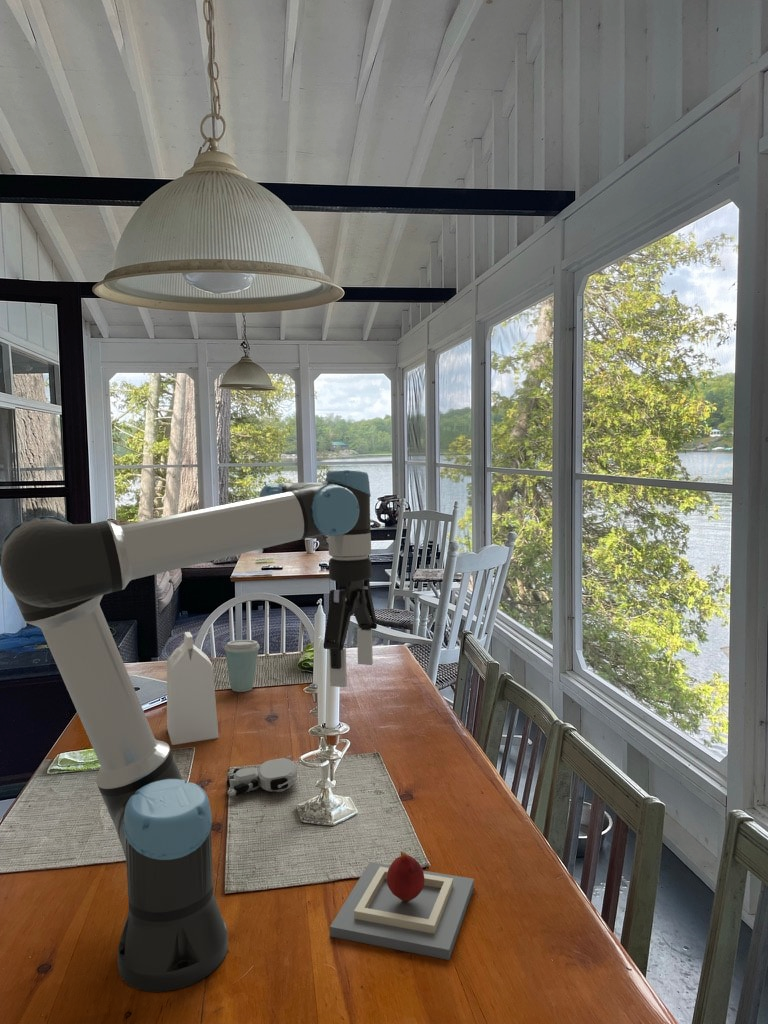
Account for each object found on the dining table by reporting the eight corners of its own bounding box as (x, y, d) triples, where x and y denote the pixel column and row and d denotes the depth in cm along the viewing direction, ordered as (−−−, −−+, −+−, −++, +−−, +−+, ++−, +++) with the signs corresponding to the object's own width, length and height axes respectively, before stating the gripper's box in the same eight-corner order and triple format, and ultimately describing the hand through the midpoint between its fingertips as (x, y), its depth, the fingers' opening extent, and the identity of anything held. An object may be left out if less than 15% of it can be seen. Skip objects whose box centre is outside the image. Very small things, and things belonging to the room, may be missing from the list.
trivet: (449, 960, 103) (448, 941, 102) (330, 936, 108) (329, 918, 108) (473, 887, 120) (473, 871, 120) (369, 870, 125) (369, 855, 125)
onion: (423, 889, 117) (422, 841, 116) (426, 912, 111) (425, 861, 111) (387, 890, 117) (386, 842, 116) (387, 913, 111) (386, 862, 110)
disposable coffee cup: (224, 685, 229) (222, 638, 228) (258, 681, 232) (257, 635, 231) (227, 696, 219) (225, 646, 218) (263, 692, 222) (261, 643, 221)
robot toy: (228, 809, 150) (301, 795, 153) (225, 788, 150) (299, 774, 153) (227, 783, 162) (295, 771, 165) (225, 763, 162) (293, 751, 165)
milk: (218, 737, 187) (214, 637, 185) (171, 745, 182) (167, 642, 180) (211, 722, 198) (207, 627, 196) (167, 728, 193) (163, 631, 192)
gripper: (354, 547, 142) (356, 654, 144) (301, 566, 119) (304, 694, 120) (391, 548, 140) (393, 657, 142) (344, 568, 117) (347, 698, 118)
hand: (352, 674), depth 131 cm, fingers open, 13 cm apart
